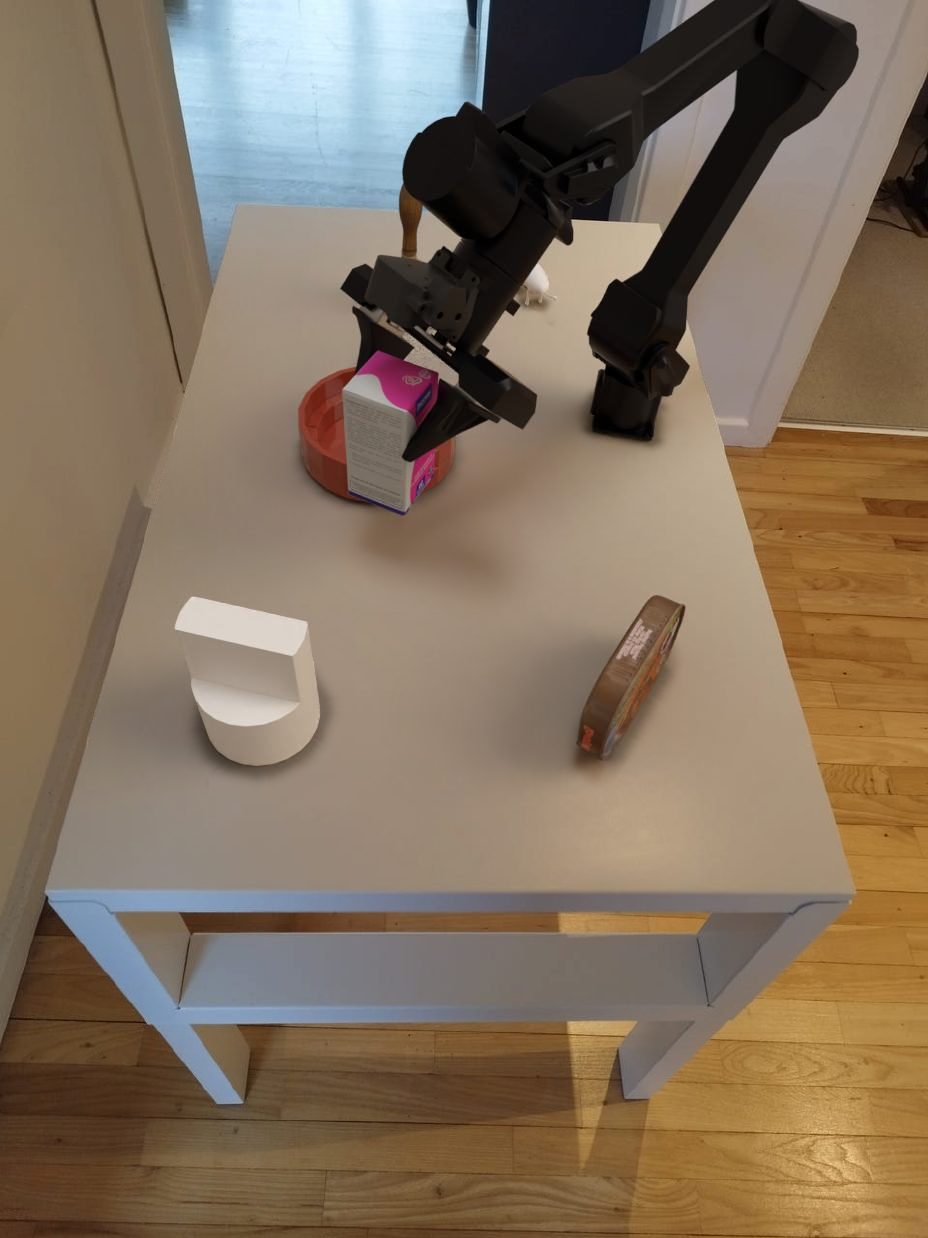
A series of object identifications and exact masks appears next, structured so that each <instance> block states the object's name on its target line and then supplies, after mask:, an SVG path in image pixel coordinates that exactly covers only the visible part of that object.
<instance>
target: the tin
mask: <svg viewBox="0 0 928 1238" xmlns="http://www.w3.org/2000/svg"><path fill="white" fill-rule="evenodd" d="M685 612H686V604H684V603H679V602H677V601H674V600H672V599H671V598H667V597H665V596H662V595H658V594H654V595H653V596H651V597H650V598H648V600H647V601H646V602H645V603H644V604H643V606H642V607H641V609H640V611H639V612H638V614H637V615H636V616H635V618H634V620H633V621H632V623H631V625H630V626H629V628H628V629H627V631H626V632H625V634H624V635H623V637H622V638H621V640H620V641H619V642H618V645H617V646H616V648H615V649H614V651H613V653H612V654H611V655H610V657H609V658H608V661H607V662H606V664H605V666H604V667H603V669H602V670H601V672H600V674H599V675H598V677H597V679H596V681H595V683H594V684H593V687H592V689H591V690H590V692H589V695H588V697H587V700H586V702H585V704H584V706H583V709H582V712H581V715H580V719H579V728H578V733H577V737H576V741H575V744H576V746H578V748H580V749H582V750H584V751H586V752H587V753H589V754H592V755H593V756H595V757H597V758H598V759H600V761H602V762H604V761H607V760H608V759H609V758H610V757H611V756H612V754H613V753H614V751H615V750H616V749H617V747H618V746H619V744H620V742H621V741H622V740H623V737H624V736H625V734H626V732H627V730H628V729H629V727H630V725H631V724H632V722H633V720H634V718H635V717H636V716H637V714H638V711H639V709H640V708H641V706H642V705H643V703H644V702H645V699H646V698H647V696H648V694H649V693H650V691H651V690H652V687H653V686H654V684H655V683H656V681H657V679H658V677H659V676H660V674H661V672H662V670H663V668H664V667H665V664H666V662H667V660H668V658H669V656H670V653H671V652H672V649H673V646H674V644H675V642H676V639H677V636H678V634H679V631H680V629H681V626H682V623H683V621H684V617H685Z"/></svg>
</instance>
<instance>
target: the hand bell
mask: <svg viewBox="0 0 928 1238" xmlns="http://www.w3.org/2000/svg"><path fill="white" fill-rule="evenodd" d="M423 207H424V206H422V205H421V204H420V203H419V202H418V201H417V200H415V199H414V198H413V197H412V196H411V195H410V194H409V193H408V191H407V190H406V188H405V185H404V182H403V181H402V184H401V188H400V191H399V195H398V213H399V219H400V222H401V227H402V242H401V243H402V244H401V256H400V257H402V258H410V259H415V260H418V261H421V262H424V260H422V259H420V258H417V253H418V229H419V225H420V222H421V219H422V216H423Z"/></svg>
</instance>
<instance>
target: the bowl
mask: <svg viewBox="0 0 928 1238" xmlns="http://www.w3.org/2000/svg"><path fill="white" fill-rule="evenodd" d="M355 369H356V366H352V367H348V368H343V369H339V370H336V371H335V372H332V373H331V374H329V375H327V376H324V377H323V378H321V379H319V380H318V381H317V382H316V383H315V384H314V385H312V387H311V388H309V389H308V390H307V391H306V392H305V394H304V396H303V398H302V400H301V402H300V404H299V406H298V408H297V409H298V411H297V412H298V413H297V415H298V417H297V419H298V421H297V423H298V424H297V425H298V433H299V440H300V449H301V457H302V461H303V463H304V465H305V467H306V469H307V471H308V473H309V475H310V476H311V477H312V478H313V479H314V480H315V481H317V482H318V483H319V484H320V486H322V487H323V488H324V489H326V490H327V491H330V492H332V493H334V494H336V495H339V496H341V497H343V498H346V499H347V500H348V499H349V500H355V501H359V502H364V503H367V502H366V501H364V500H361V499H358V498H356V497H353V496H351V495H349V494H348V477H347V460H346V444H345V429H344V411H343V396H342V389H343V388H344V387H345V386H346V385H347V384H348V383H349V382H350V380H351V379H352V378H353V377H354V373H355ZM456 437H457V435H456V436H455V437H453V438H451V439H449V440H448V441H446V442H444V443H443V444H441V445H439V446H438V447H436V448H435V463H434V476H433V478H432V479H431V480H430V481H429V483H428V484H427V485H426V486H425V488H424V489H423V490H422V492H421V493H420V494H419V496H420V495H421V494H423V493H425V492H427V491H429V490H430V489H432V488H433V487H435V486H437V485H438V484H439V483H440V482H441V480H442V479H443V478H444V477H445V476H446V475H447V474H448V472H449V471H450V470H451V466H452V464H453V460H454V458H455V453H456Z"/></svg>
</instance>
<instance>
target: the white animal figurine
mask: <svg viewBox="0 0 928 1238" xmlns="http://www.w3.org/2000/svg"><path fill="white" fill-rule="evenodd" d="M523 285H524V287H526V289H527V290H526V297H525V301H524V304H525V306H529V305H530V304H529V303H530V297H531V292H532V293H535V294H537V295H538V299H537V302H538V304H542V302H543V296H546V297H548V298H551V299H552V300H553V301H557V300H558V297H557V296H556V295H555V296H554V295H550V294H548V293H547V292H548V291H549V289H550V281H549V277H548V275H547V273H546V272H545V270H544V268H543V267H542V266H541V265H540V264H539V262H538V263H537V264H536V266H535V267H534V269H533V270H532V272H531V273H530V275H529V276H528V278H527V279H526V281H525V282H524V283H523Z"/></svg>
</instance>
